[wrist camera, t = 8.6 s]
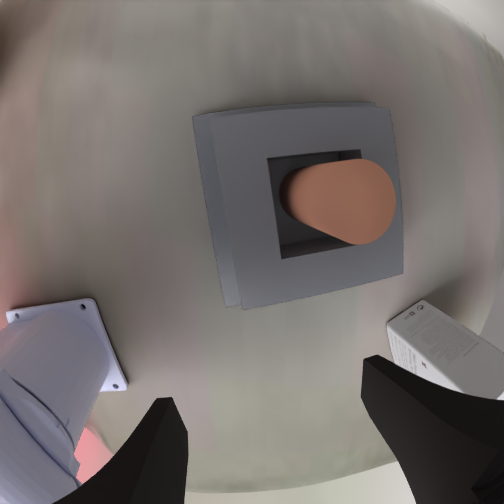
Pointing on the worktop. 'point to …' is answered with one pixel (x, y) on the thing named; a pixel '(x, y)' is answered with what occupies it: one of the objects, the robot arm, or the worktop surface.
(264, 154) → the socket block
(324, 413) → the worktop surface
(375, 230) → the peg
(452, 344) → the skincare box
